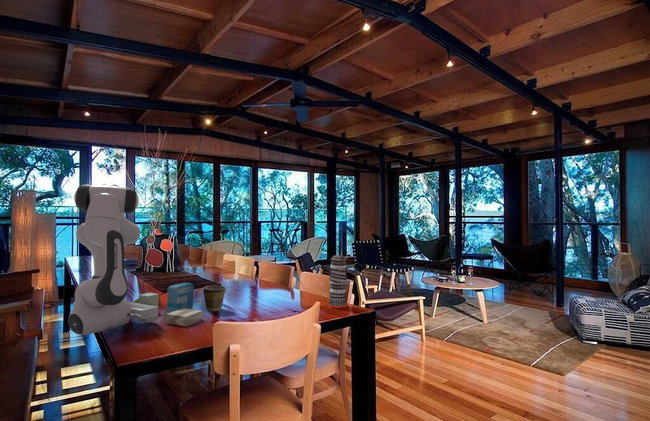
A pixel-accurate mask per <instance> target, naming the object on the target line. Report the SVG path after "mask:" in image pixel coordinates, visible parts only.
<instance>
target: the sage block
mask: <svg viewBox="0 0 650 421" xmlns="http://www.w3.org/2000/svg"><path fill="white" fill-rule="evenodd" d="M138 298H139V303H140V304H146V305H152V304H157V305H158V300H159V298H160V294H159V293H156V292H155V293H154V292H147V293H141V294H138ZM159 301H160V300H159ZM158 319H159V315H158V316H156V317H153V318H148V319H143V320H139V319H137V321H140V322H145V323H150V322H153V321H156V320H158Z"/></svg>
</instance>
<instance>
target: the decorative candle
mask: <svg viewBox="0 0 650 421" xmlns="http://www.w3.org/2000/svg"><path fill="white" fill-rule="evenodd" d="M347 259H348V258H346V257H345V255H338V254H337V255H336V254H335V255H333V256H332V257H331V258H330V260H331V261H330V266H329V267H328V268H329V271H328V273H329V278H328V280H329V284H330V288H329V292H328V293H329V295H328V297H329V299H328V301H329V302H328V305H331V306H344V305H346V306H347V299H346V298H347V291H346V290H347V289H346V284H347V283H348V282H347V280H348V274H347V273H348V271H347V270H348V267H347Z"/></svg>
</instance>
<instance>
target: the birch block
mask: <svg viewBox="0 0 650 421" xmlns="http://www.w3.org/2000/svg"><path fill="white" fill-rule="evenodd" d="M203 316H204V311H203V310H199V309H193V308H192V309H184V308H183V309H180V310H177V311H173V312H170V313H165V324H167V325H176V326H183V327H188V326H190V325H192V324H193V325H194V324H195V323H198V322H200V321H203V318H204V317H203Z"/></svg>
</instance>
